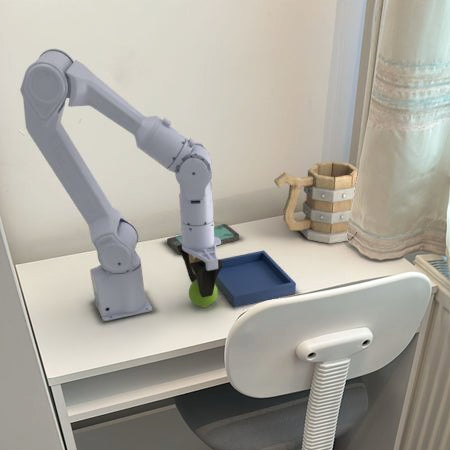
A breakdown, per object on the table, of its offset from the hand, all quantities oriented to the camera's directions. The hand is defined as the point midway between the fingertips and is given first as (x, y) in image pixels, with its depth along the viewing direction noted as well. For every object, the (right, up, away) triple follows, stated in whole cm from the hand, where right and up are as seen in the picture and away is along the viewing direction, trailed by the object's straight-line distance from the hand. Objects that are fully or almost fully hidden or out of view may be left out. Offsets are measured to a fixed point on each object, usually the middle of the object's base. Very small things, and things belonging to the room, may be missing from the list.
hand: (201, 288), depth 120 cm
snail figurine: (0, -3, +2) cm, 4 cm away
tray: (+9, +3, +8) cm, 13 cm away
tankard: (+25, +17, +25) cm, 39 cm away
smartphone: (0, +14, +23) cm, 27 cm away
